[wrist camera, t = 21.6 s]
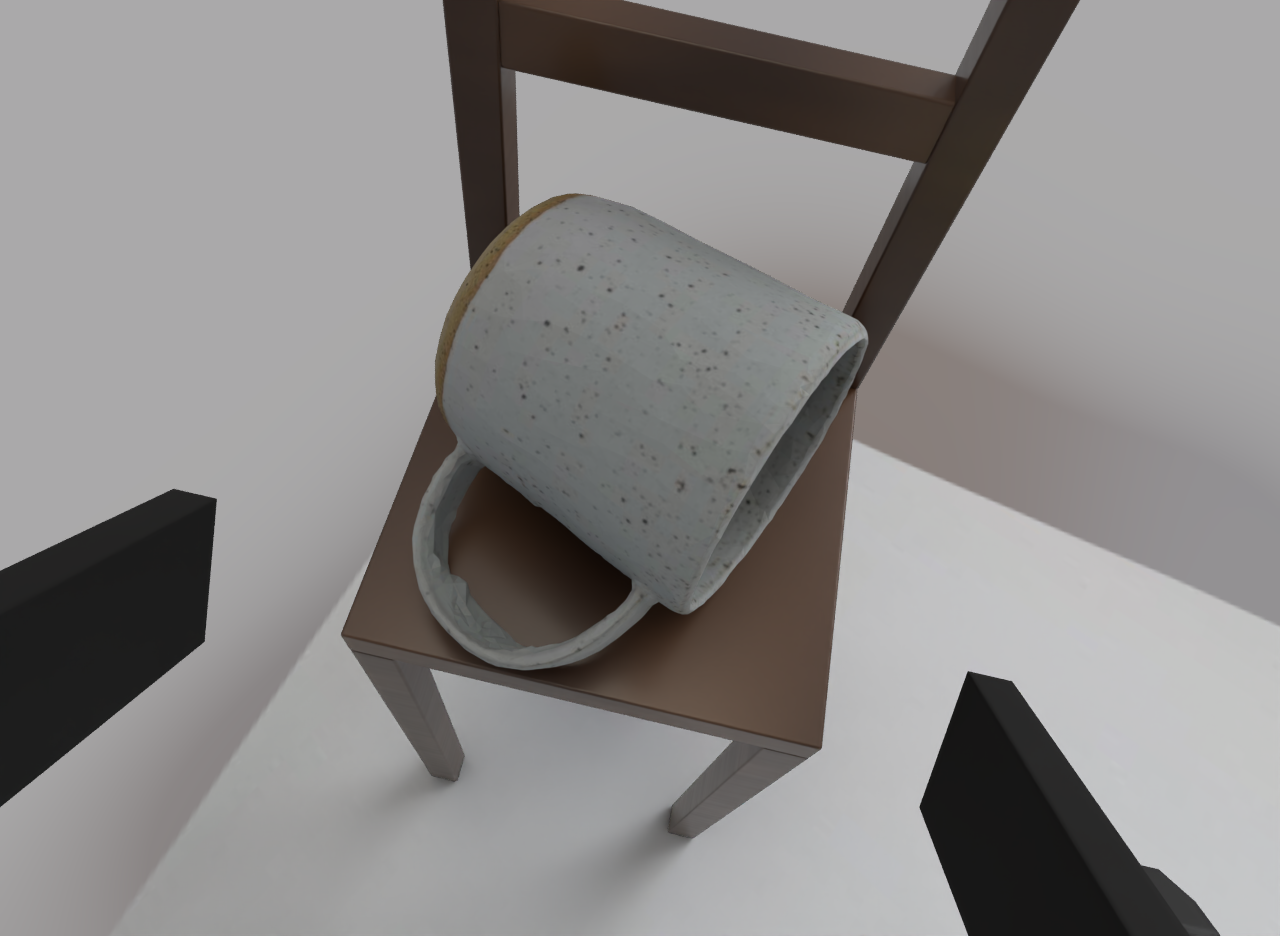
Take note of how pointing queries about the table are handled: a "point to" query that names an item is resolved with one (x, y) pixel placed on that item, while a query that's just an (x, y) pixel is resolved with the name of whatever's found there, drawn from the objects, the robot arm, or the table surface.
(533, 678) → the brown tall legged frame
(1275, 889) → the table surface
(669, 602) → the ceramic mug
